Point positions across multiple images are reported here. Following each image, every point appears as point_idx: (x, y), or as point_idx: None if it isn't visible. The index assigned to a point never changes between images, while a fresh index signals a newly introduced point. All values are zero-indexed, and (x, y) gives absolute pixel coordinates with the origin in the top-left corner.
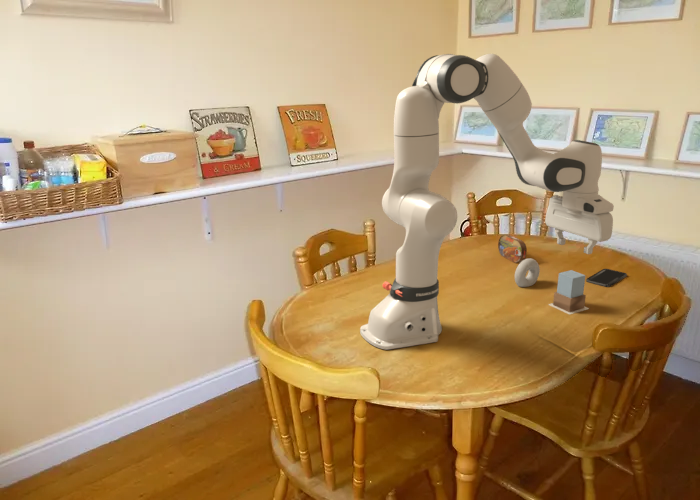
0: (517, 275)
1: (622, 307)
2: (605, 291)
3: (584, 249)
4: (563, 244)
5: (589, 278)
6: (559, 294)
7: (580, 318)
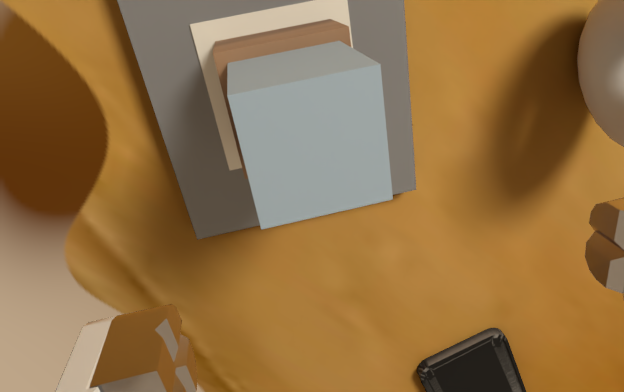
0: None
1: (239, 314)
2: (391, 338)
3: (147, 339)
4: (590, 244)
5: (504, 348)
6: (305, 34)
7: None
